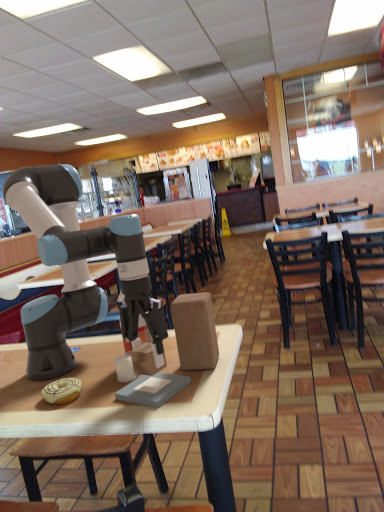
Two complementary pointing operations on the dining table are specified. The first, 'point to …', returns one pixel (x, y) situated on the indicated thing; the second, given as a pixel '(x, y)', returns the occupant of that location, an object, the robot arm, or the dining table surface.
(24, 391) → the dining table surface
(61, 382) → the decorated donut
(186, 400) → the dining table surface
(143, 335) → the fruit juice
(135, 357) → the walnut cube
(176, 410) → the dining table surface
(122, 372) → the marshmallow
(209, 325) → the wooden block
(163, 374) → the slate board
